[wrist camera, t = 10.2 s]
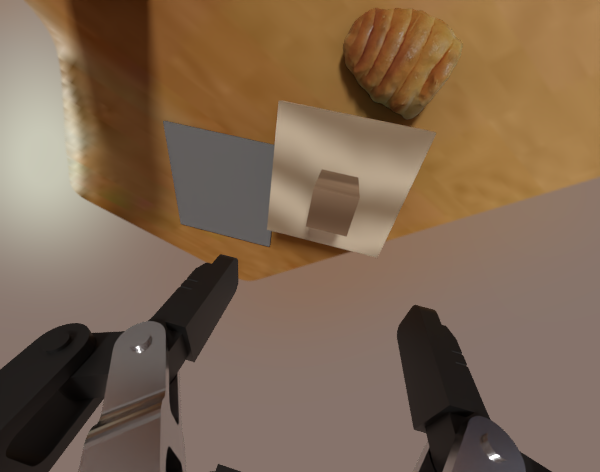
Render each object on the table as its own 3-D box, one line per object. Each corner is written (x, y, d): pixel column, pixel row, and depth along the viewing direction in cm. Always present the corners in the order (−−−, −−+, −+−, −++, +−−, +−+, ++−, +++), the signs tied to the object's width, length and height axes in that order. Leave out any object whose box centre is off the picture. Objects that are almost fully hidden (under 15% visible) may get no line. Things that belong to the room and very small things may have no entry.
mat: (165, 120, 27) (163, 121, 27) (280, 146, 26) (279, 146, 26) (182, 222, 36) (180, 223, 35) (270, 245, 34) (269, 246, 34)
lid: (281, 100, 19) (256, 102, 14) (432, 131, 18) (462, 144, 13) (269, 225, 26) (250, 255, 21) (376, 252, 25) (382, 290, 20)
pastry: (330, 78, 22) (326, 74, 19) (369, -15, 18) (373, -38, 15) (411, 122, 22) (421, 126, 19) (465, 42, 19) (488, 30, 15)
